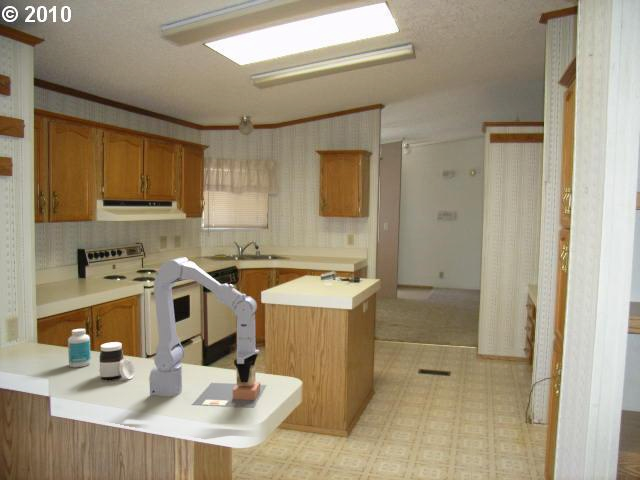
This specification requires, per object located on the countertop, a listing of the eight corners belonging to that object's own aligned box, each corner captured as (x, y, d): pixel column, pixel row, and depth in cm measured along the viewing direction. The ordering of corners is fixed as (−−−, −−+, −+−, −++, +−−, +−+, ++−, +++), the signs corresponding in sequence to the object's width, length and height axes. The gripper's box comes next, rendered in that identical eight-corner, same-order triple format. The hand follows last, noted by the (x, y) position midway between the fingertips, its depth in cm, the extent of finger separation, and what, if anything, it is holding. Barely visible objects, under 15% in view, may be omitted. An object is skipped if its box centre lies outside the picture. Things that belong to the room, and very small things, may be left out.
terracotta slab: (232, 399, 149) (232, 389, 149) (238, 390, 156) (238, 381, 156) (254, 400, 148) (254, 390, 148) (260, 391, 155) (260, 382, 155)
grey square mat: (191, 407, 145) (191, 404, 145) (211, 385, 163) (211, 382, 163) (253, 410, 143) (253, 407, 143) (266, 388, 161) (266, 384, 161)
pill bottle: (94, 364, 185) (93, 329, 184) (76, 369, 178) (74, 333, 177) (83, 360, 189) (82, 326, 188) (64, 365, 182) (63, 330, 181)
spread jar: (102, 373, 174) (101, 341, 174) (135, 370, 178) (134, 339, 177) (97, 385, 163) (96, 351, 162) (133, 381, 166) (132, 348, 166)
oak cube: (236, 385, 150) (236, 369, 150) (240, 380, 155) (240, 364, 154) (251, 386, 149) (251, 370, 149) (255, 380, 154) (255, 365, 154)
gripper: (253, 343, 143) (253, 388, 144) (263, 330, 158) (264, 371, 159) (229, 342, 144) (230, 387, 145) (242, 330, 158) (243, 370, 159)
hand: (246, 379), depth 152 cm, fingers closed on oak cube, 5 cm apart
